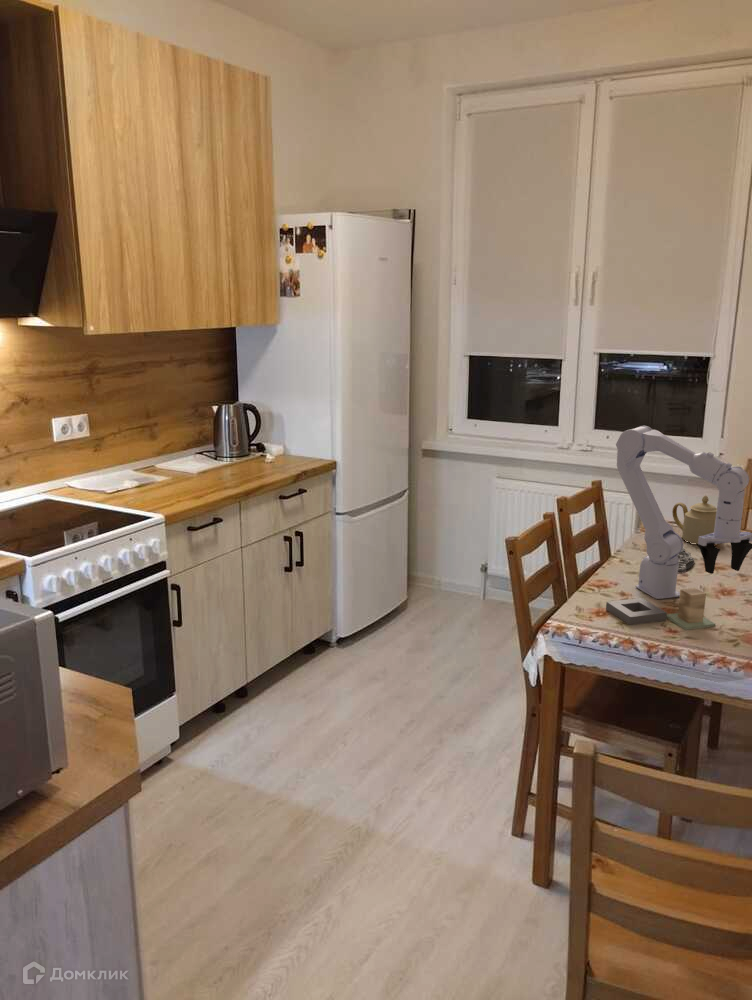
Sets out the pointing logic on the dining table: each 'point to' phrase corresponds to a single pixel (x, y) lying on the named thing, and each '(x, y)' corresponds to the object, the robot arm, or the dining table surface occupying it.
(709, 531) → the olive yellow teapot
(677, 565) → the robot arm
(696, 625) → the green mat
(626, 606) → the pocket plate
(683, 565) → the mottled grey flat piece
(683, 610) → the beech block
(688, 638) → the dining table surface
